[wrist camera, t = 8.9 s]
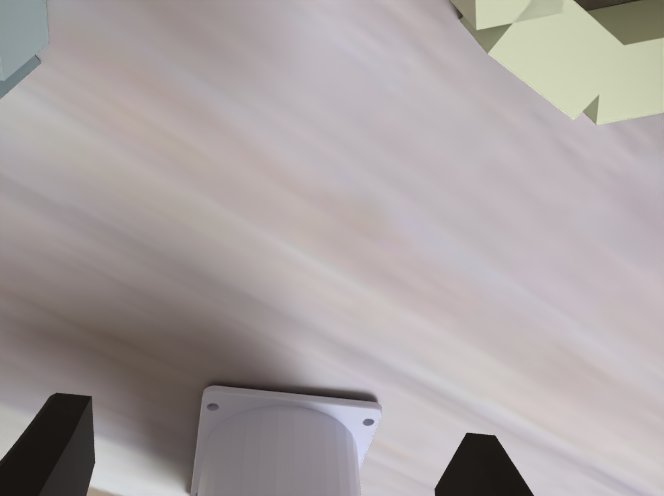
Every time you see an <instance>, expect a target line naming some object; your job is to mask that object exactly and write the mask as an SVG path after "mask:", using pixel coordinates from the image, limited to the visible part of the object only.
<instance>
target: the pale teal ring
mask: <svg viewBox="0 0 664 496" xmlns="http://www.w3.org/2000/svg"><path fill="white" fill-rule="evenodd" d="M47 44H49V35H48V22H47V9H46V0H0V99H1V98H2V97H3V96H4V95H5V94H7V93H8V92H9V91H10V90H11V89H12V88H13V87H14V86H16V85H17V84H18V83H19V82H20V81H21V80H22V79H23V78H25V77H26V76H27V75H28V74H29V73H30V72H31V71H32V70H34V69H35V68H36V67H37V66H38V65H39V64H40V63H41V62H40V61H39V59H38V58H37V57H36V56H35V54H37V53H38V52H39V51H40V50H41V49H43V48H44V47H45V46H46V45H47Z"/></svg>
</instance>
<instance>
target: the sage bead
mask: <svg viewBox="0 0 664 496" xmlns="http://www.w3.org/2000/svg"><path fill="white" fill-rule="evenodd" d="M450 1H451V2H452V3H453V4H454V6H455V7H456V8H457V9H458V10H459V11H460V12H461V13H462V15H463V16H462V18H461V19H460V22H461V23H462V24H463V25H464V26H465V28H466V29H467V30H468V31H469V32H470V33H471V35H472V36H473V37H474V38H475V39H476V41H477V42H478V43H479V44H480V45H481V47H482V48H483V49H484V50H485V51H486V52H487V54H489V55H490V56H491V57H492V58H494V59H495V60H496V61H498V62H499V63H500V64H501V65H503V66H504V67H505V68H507V69H508V70H509V71H510V72H512V73H513V74H514V75H516V76H517V77H518V78H519V79H521V80H522V81H523V82H525V83H526V84H527V85H528V86H530V87H531V88H532V89H534V90H535V91H536V92H537V93H539V94H540V95H541V96H543V97H544V98H545V99H546V100H548V101H549V102H550V103H552V104H553V105H554V106H555V107H557V108H558V109H559V110H561V111H562V112H563V113H564V114H566V115H567V116H568V117H570V118H571V119H572V120H573V121H574V120H575V119H576V118H577V117H578V115H579V114H580V113H581V112H582V111H583V112H584V113H585V114H586V115H587V116H588V117H589V118H590V119H591V120H592V121H593V122H594V123H595V124H596V125H599V124H605V123H610V122H616V121H621V120H626V119H632V118H637V117H643V116H648V115H654V114H659V113H664V0H640V1H635V2H630V3H625V4H620V5H615V6H610V7H605V8H600V9H595V10H590V11H585V10H584V9H583V8H582V7H581V6H579V5H578V4H577V3H576V2H575V1H574V0H450Z"/></svg>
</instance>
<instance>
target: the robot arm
mask: <svg viewBox="0 0 664 496" xmlns="http://www.w3.org/2000/svg"><path fill="white" fill-rule="evenodd" d="M213 403H215V404H213ZM381 416H382V409H381V406H380V405H379V404H378V403H376V402H370V401H360V400H350V399H341V398H331V397H322V396H312V395H302V394H293V393H283V392H273V391H264V390H254V389H244V388H235V387H225V386H209V387H207V388H205V389H204V391H203V396H202V403H201V411H200V419H199V428H198V436H197V444H196V452H195V460H194V468H193V477H192V485H191V493H190V496H361V486H360V475H359V469H360V467H361V464H362V462H363V460H364V457H365V455H366V452H367V450H368V448H369V445H370V443H371V440H372V438H373V436H374V433H375V431H376V428H377V426H378V423H379V421H380V419H381ZM94 464H95V451H94V432H93V412H92V396H84V395H74V394H64V393H55V394H53V395H51V396H50V397H49V398H48V400H47V401H46V403H45V404H44V405H43V407H42V408H41V410H40V411H39V412H38V414H37V415H36V416H35V418H34V419H33V420H32V422H31V423H30V424H29V426H28V427H27V428H26V430H25V431H24V432H23V434H22V435H21V436H20V437H19V439H18V440H17V441H16V443H15V444H14V445H13V446H12V448H11V449H10V450H9V451H8V452H7V454H6V455H5V456H4V457H3V459H2V460H1V461H0V496H86V494H87V490H88V487H89V483H90V479H91V476H92V472H93V468H94ZM435 496H534V495H533V493H532V492H531V490H530V489H529V487H528V486H527V484H526V482H525V481H524V479H523V478H522V476H521V475H520V473H519V472H518V470H517V468H516V467H515V465H514V464H513V462H512V461H511V459H510V458H509V456H508V454H507V453H506V451H505V450H504V448H503V447H502V445H501V444H500V442H499V441H498V439H497V438H496V436H495V435H485V434H475V433H466V435H465V437H464V438H463V440H462V442H461V444H460V445H459V447H458V449H457V451H456V452H455V454H454V456H453V458H452V459H451V461H450V463H449V465H448V466H447V468H446V470H445V472H444V473H443V475H442V477H441V479H440V481H439V482H438V484H437V486H436V488H435Z"/></svg>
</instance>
